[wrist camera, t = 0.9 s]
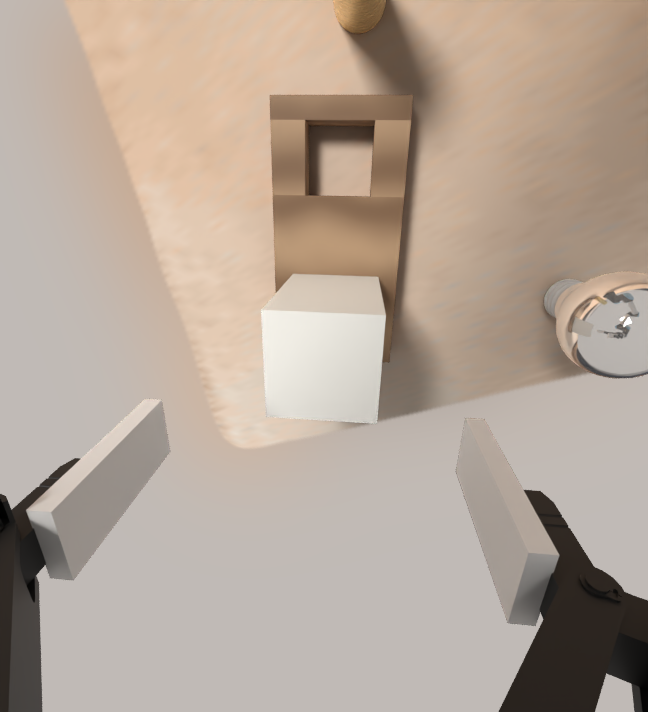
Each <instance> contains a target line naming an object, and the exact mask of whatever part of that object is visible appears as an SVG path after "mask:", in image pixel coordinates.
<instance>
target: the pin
mask: <svg viewBox="0 0 648 712" xmlns="http://www.w3.org/2000/svg"><path fill="white" fill-rule="evenodd" d="M333 3H334V10H335V14H336V17H337V19H338V21H339V23H340V24H341V26H342V27H343V28H344V29H346V30H347V31H349V32H351V33H355V34H361V33H365V32H368V31H369V30H371V29H372V28H374V27H375V26H376V25H377V23H378V22H379V21H380V19H381V17H382V15H383V13H384V9H385V5H386V0H333Z"/></svg>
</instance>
